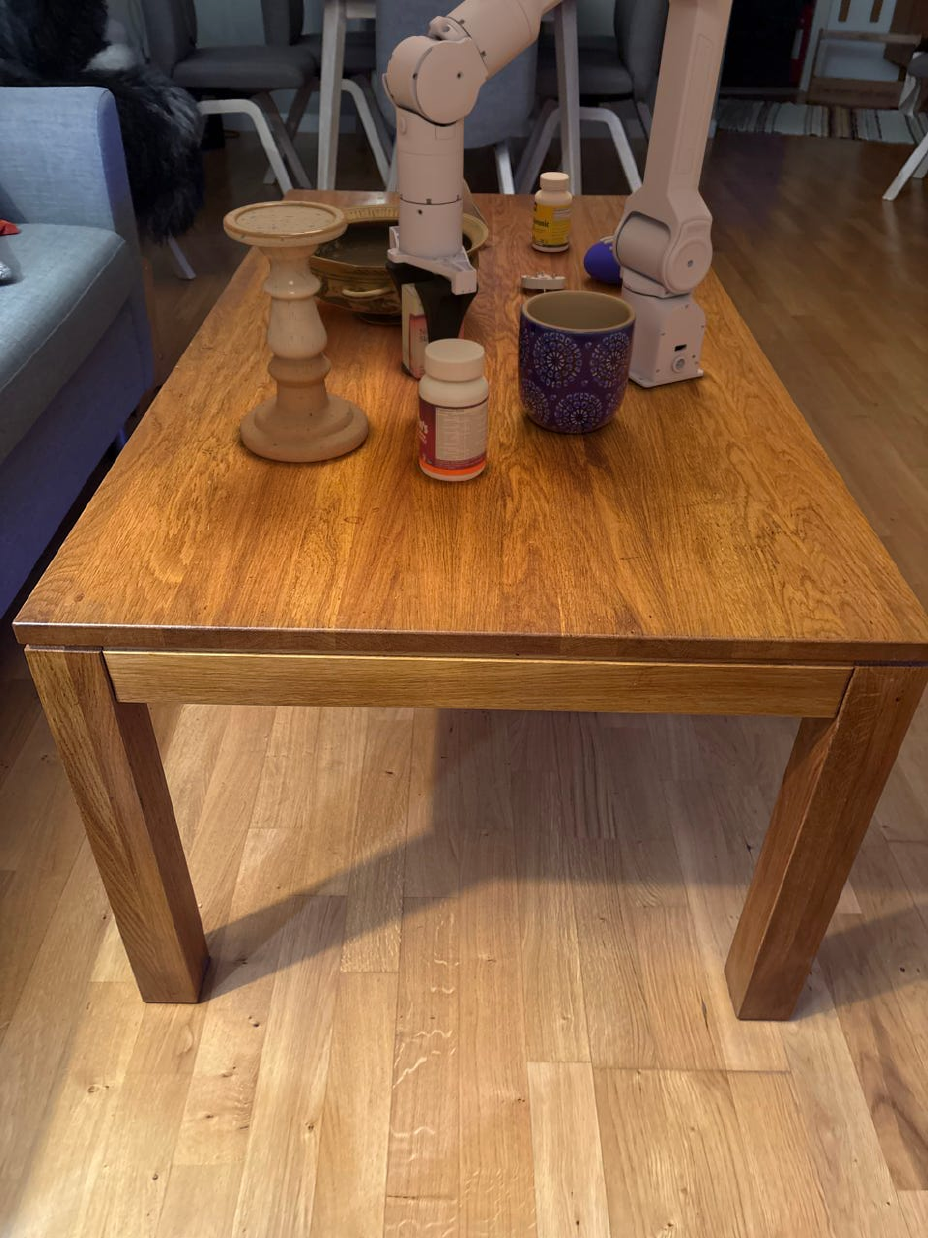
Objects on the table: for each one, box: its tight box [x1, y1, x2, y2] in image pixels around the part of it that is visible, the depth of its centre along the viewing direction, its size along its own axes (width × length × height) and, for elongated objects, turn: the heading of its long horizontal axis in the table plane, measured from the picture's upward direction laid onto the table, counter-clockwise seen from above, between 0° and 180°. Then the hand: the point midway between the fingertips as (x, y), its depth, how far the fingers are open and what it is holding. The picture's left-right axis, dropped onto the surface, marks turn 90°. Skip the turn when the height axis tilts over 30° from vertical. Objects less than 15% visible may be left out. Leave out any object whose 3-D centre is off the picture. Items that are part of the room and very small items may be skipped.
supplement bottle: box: [531, 171, 573, 253], centre depth 139 cm, size 5×5×10 cm
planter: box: [517, 289, 636, 435], centre depth 94 cm, size 11×11×11 cm
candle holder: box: [222, 200, 370, 463], centre depth 88 cm, size 12×12×20 cm
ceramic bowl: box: [310, 203, 490, 326], centre depth 116 cm, size 30×24×10 cm
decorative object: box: [582, 235, 623, 285], centre depth 128 cm, size 10×6×10 cm
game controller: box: [520, 270, 566, 293], centre depth 124 cm, size 6×12×3 cm, turn 15°
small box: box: [401, 283, 465, 379], centre depth 93 cm, size 5×4×8 cm
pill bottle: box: [418, 338, 490, 482], centre depth 86 cm, size 6×6×11 cm
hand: (431, 344), depth 94 cm, fingers closed on small box, 4 cm apart
